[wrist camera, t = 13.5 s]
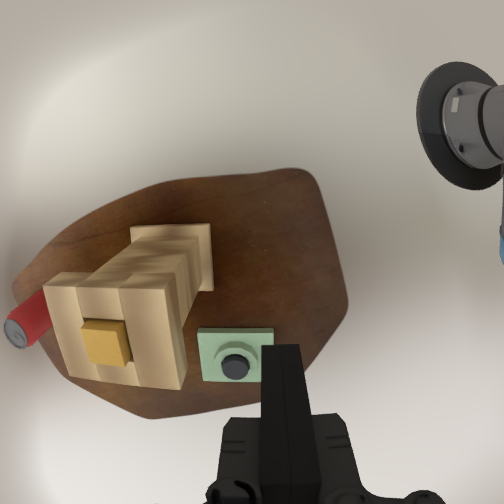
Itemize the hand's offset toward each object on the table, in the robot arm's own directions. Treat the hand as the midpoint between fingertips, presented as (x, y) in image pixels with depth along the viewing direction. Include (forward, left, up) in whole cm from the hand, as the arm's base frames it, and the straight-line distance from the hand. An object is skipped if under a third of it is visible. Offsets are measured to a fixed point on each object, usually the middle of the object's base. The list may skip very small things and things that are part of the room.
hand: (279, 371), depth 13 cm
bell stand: (+14, +6, -34) cm, 38 cm away
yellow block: (+14, +6, -11) cm, 19 cm away
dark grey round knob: (+5, +23, -31) cm, 39 cm away
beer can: (+40, +15, -35) cm, 55 cm away
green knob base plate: (+5, +23, -34) cm, 42 cm away
